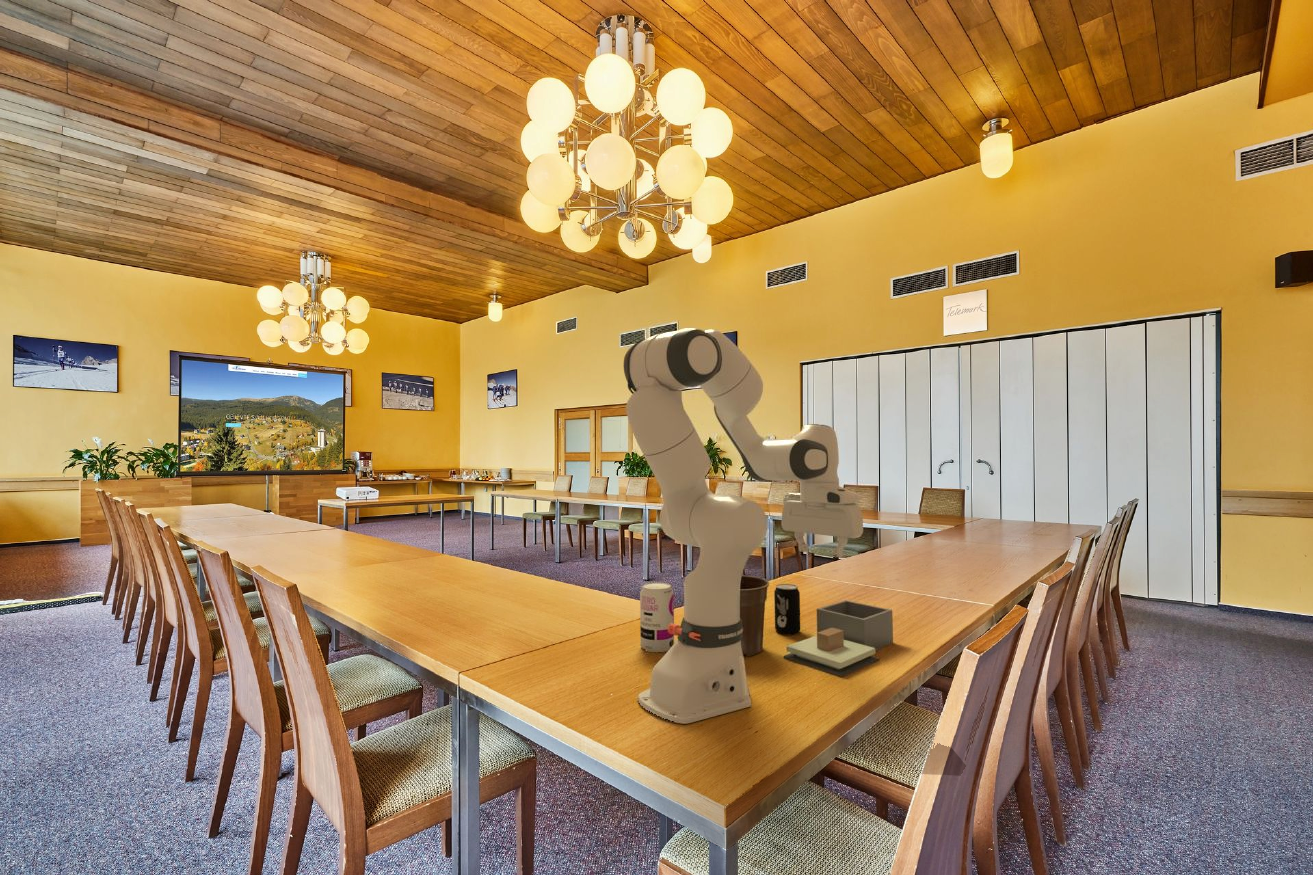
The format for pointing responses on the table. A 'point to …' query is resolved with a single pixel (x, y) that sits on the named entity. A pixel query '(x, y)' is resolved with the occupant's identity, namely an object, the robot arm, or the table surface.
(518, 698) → the table surface
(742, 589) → the plant pot
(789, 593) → the beverage can
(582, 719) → the table surface
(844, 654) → the lid
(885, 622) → the storage box
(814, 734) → the table surface
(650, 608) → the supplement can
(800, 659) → the rubber mat
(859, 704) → the table surface
